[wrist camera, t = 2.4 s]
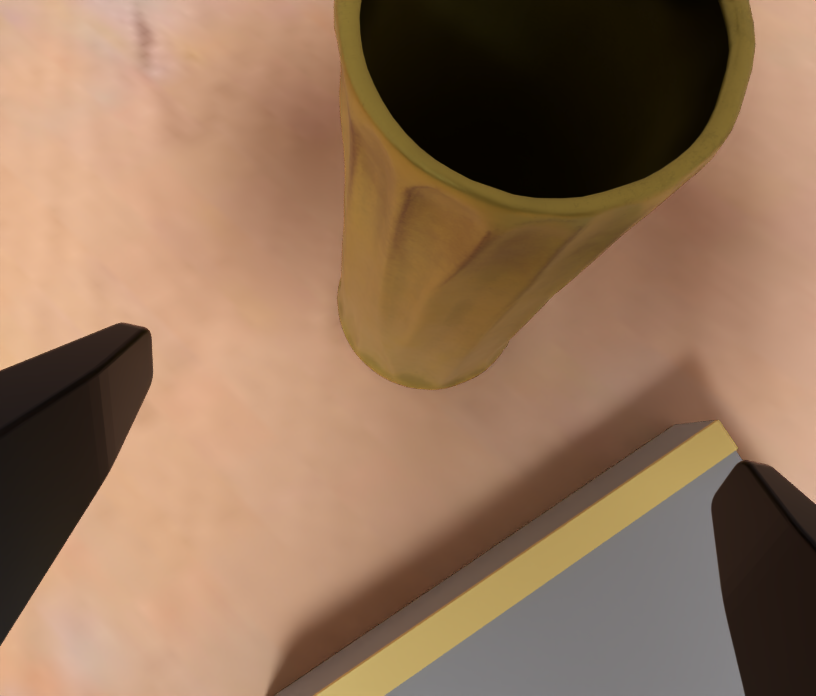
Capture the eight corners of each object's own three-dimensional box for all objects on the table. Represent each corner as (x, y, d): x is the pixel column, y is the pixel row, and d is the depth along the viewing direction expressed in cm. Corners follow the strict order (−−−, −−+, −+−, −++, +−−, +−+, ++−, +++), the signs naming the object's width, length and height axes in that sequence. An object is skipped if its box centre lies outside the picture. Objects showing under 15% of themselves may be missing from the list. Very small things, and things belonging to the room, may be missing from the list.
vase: (550, 321, 22) (889, 76, 8) (409, 427, 21) (507, 365, 7) (443, 185, 22) (583, -270, 8) (301, 282, 21) (189, -50, 7)
